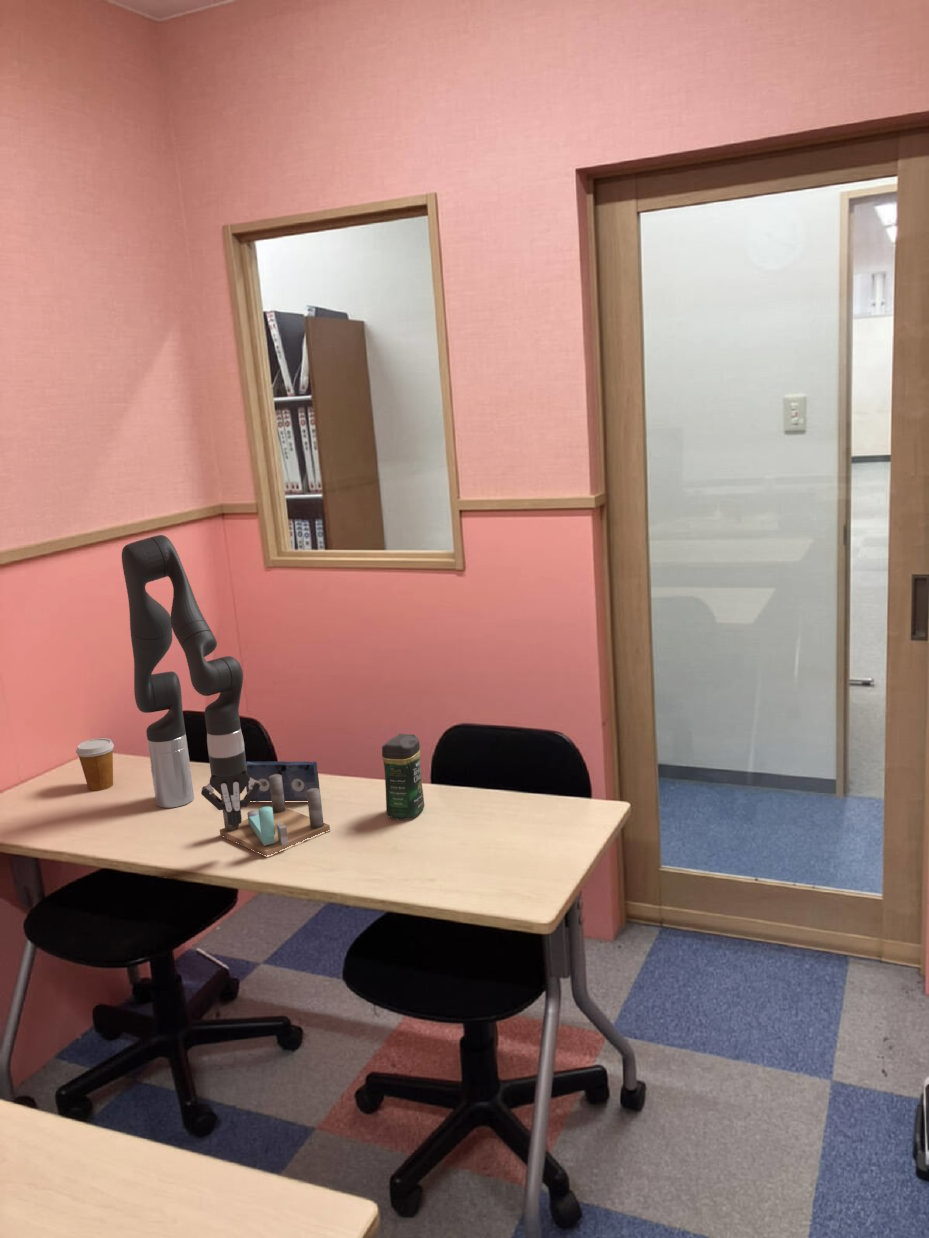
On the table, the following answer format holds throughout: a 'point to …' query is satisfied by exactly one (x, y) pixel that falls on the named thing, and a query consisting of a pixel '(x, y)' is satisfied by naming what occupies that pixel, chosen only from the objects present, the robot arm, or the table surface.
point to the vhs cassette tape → (284, 778)
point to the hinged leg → (263, 824)
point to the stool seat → (280, 822)
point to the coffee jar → (403, 777)
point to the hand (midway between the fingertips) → (235, 825)
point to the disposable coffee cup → (97, 763)
